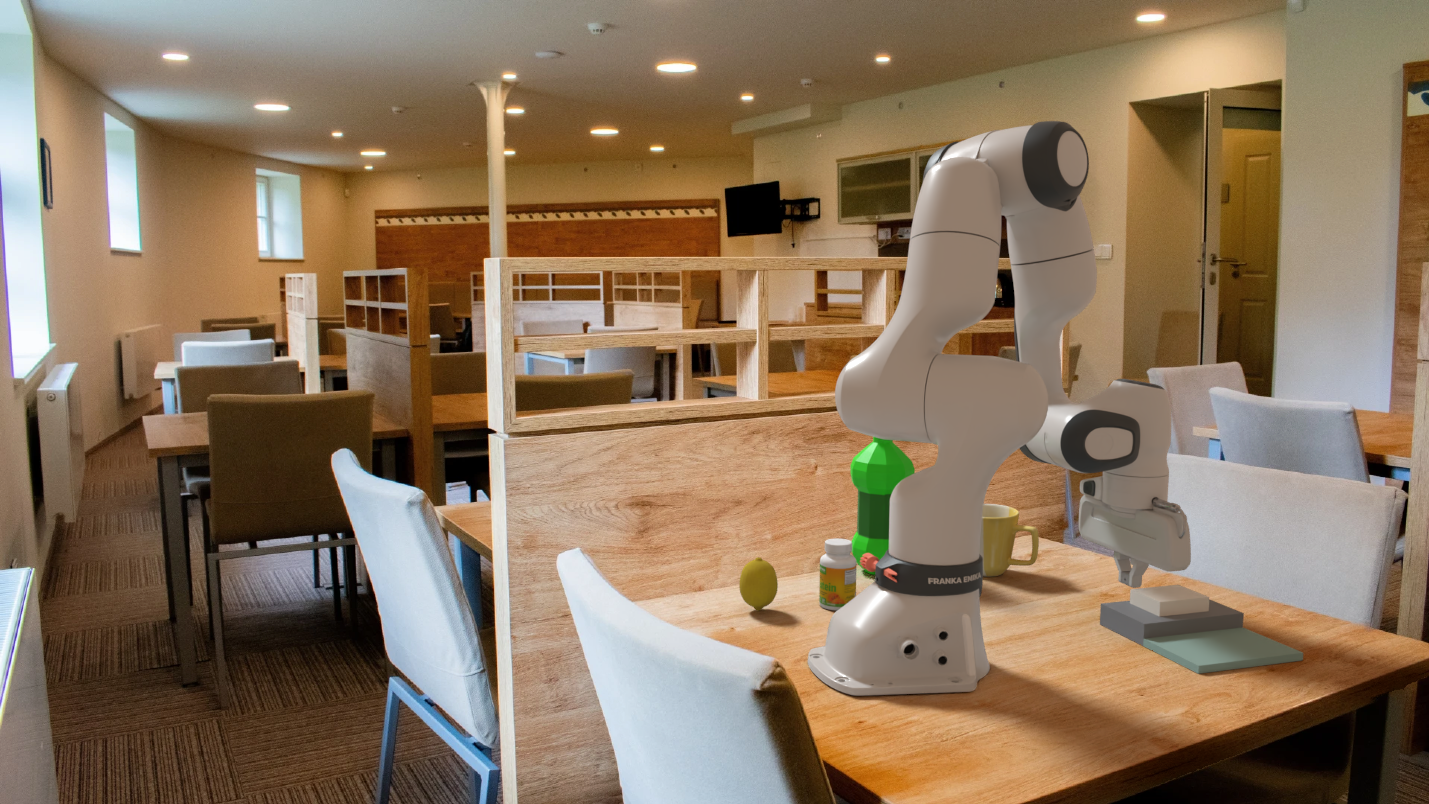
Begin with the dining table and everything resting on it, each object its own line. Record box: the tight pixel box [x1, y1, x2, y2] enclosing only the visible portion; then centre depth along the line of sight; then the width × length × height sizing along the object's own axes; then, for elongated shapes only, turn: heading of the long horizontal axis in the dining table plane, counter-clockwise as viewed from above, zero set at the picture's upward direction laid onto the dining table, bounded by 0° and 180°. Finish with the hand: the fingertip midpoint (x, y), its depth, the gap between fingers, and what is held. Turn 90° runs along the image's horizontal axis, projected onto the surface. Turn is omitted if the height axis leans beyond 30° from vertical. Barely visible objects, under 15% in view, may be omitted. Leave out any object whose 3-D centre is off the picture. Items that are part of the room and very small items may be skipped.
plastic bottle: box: [849, 437, 916, 576], centre depth 170 cm, size 10×10×25 cm
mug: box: [980, 503, 1040, 577], centre depth 169 cm, size 14×10×10 cm
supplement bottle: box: [818, 537, 858, 612], centre depth 153 cm, size 5×5×10 cm
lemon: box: [738, 556, 778, 612], centre depth 151 cm, size 6×6×8 cm
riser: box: [1099, 598, 1245, 647], centre depth 143 cm, size 16×9×3 cm, turn 106°
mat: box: [1142, 626, 1304, 675], centre depth 134 cm, size 16×10×1 cm, turn 106°
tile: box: [1129, 584, 1210, 617], centre depth 143 cm, size 8×6×2 cm
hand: (1129, 584), depth 151 cm, fingers closed
